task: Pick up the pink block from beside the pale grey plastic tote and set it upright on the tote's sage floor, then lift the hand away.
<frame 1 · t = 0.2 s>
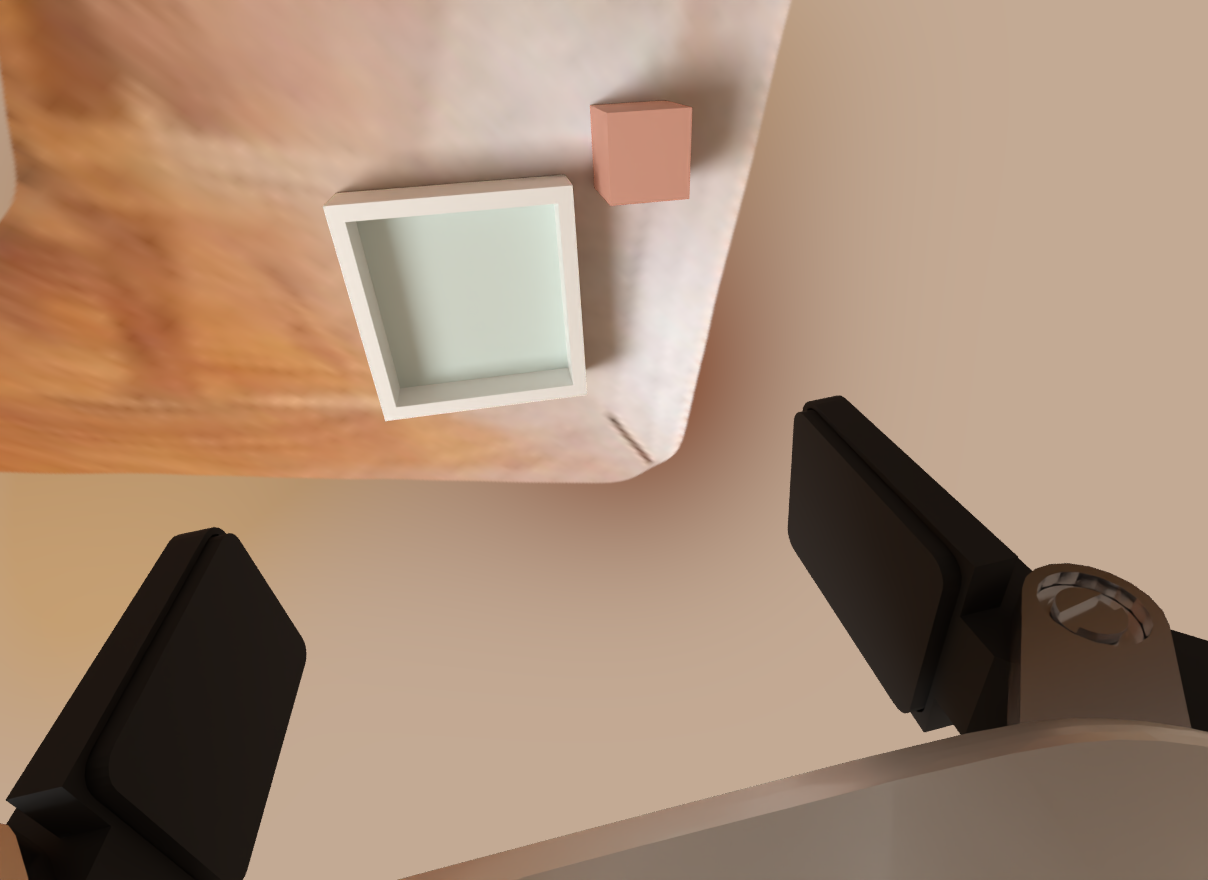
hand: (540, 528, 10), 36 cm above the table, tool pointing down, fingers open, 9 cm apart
tote: (471, 292, 44), on the table
pink block: (628, 145, 40), on the table
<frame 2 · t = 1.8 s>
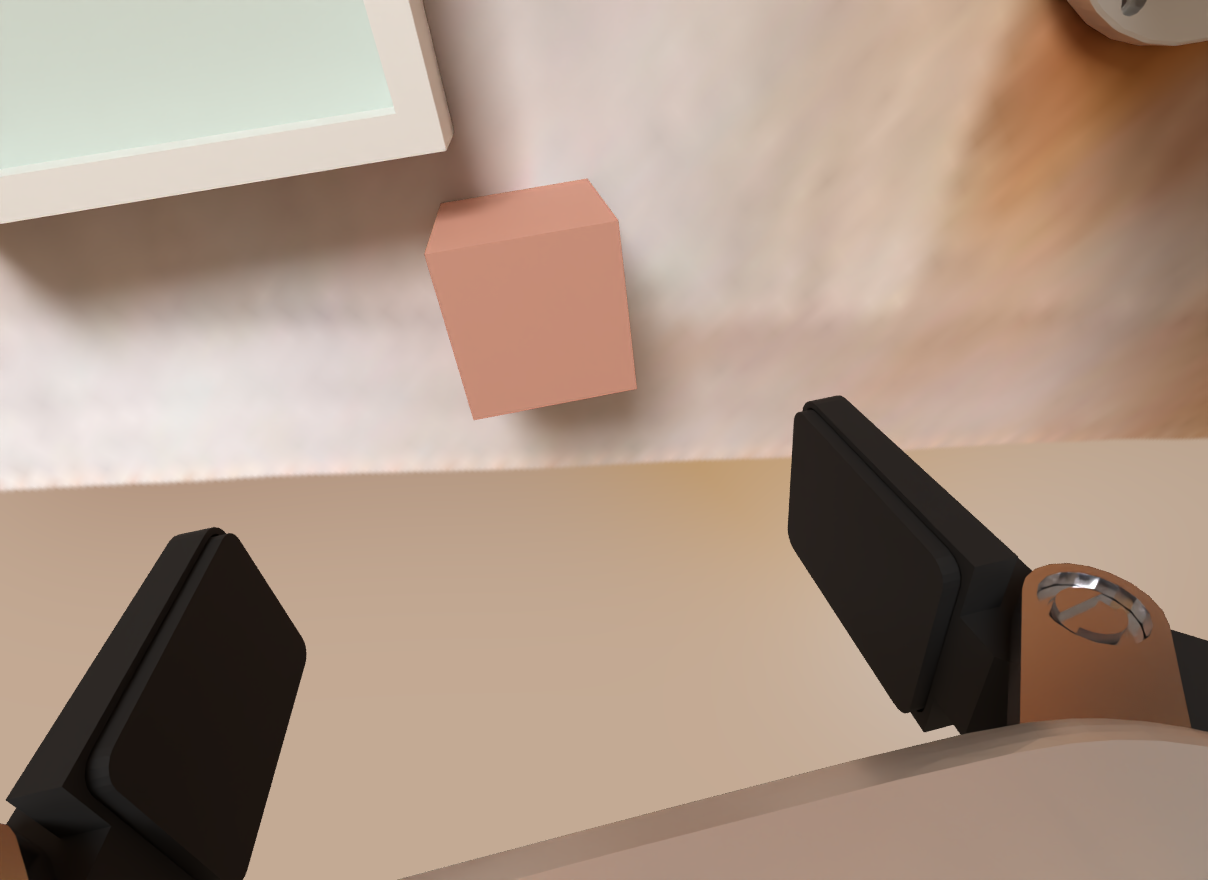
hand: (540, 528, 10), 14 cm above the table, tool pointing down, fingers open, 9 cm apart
pink block: (529, 263, 22), on the table
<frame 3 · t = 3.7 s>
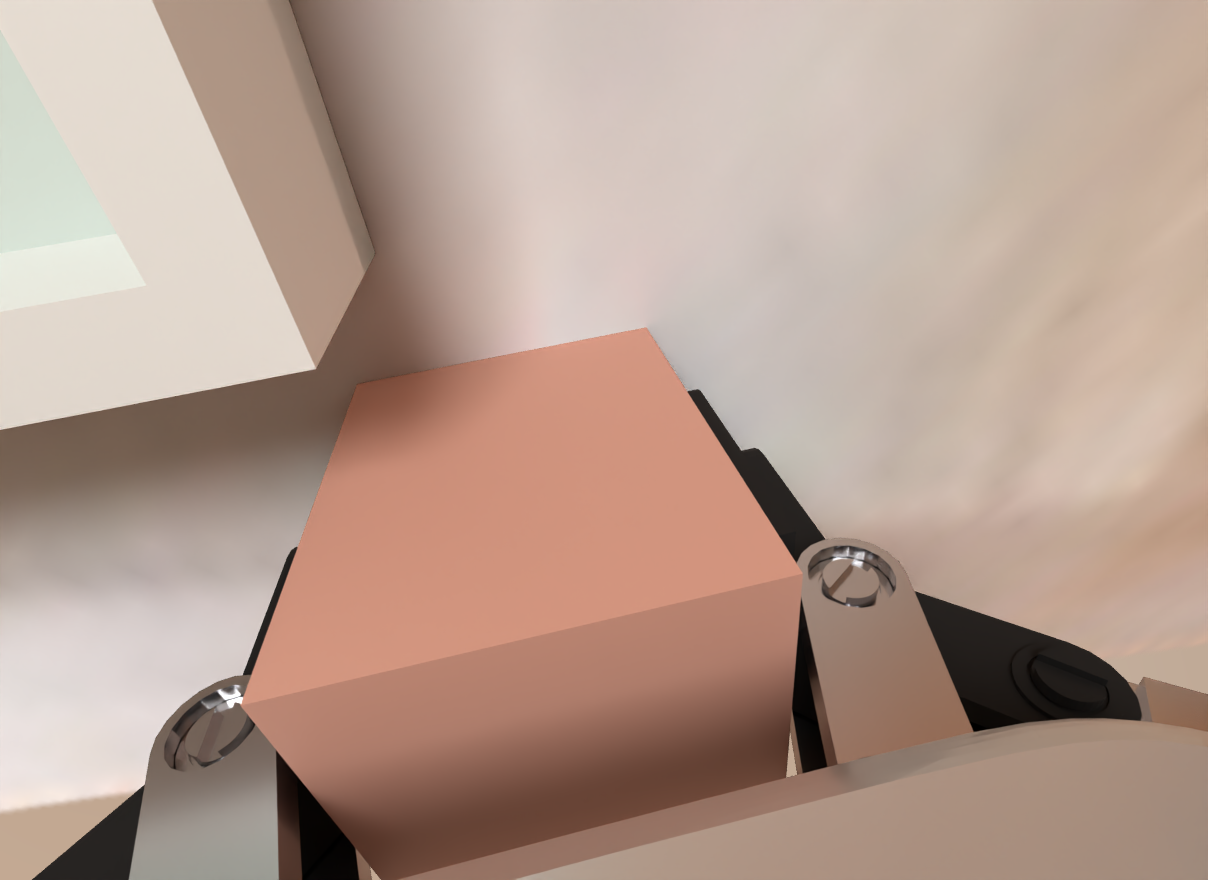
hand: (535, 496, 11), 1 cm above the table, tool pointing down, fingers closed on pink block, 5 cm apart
pink block: (532, 471, 12), on the table, touching gripper
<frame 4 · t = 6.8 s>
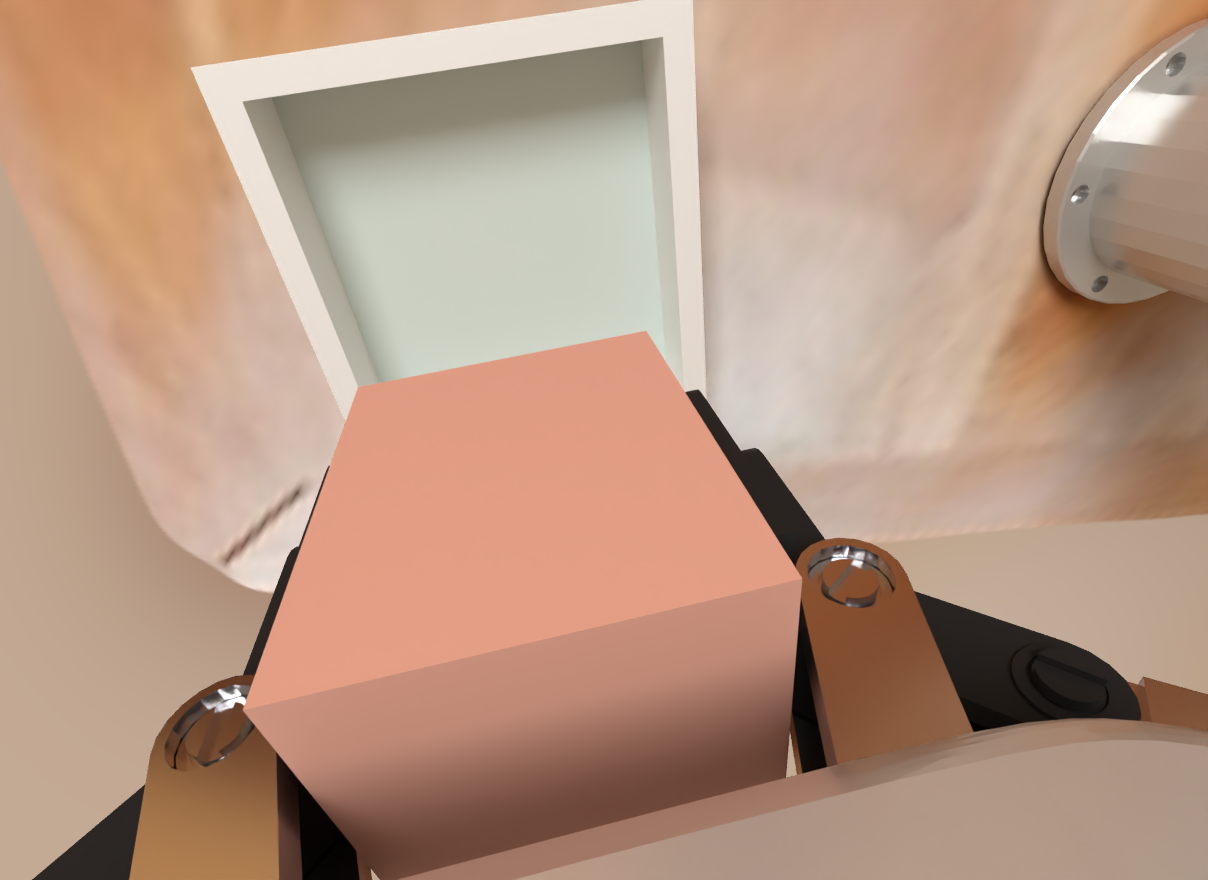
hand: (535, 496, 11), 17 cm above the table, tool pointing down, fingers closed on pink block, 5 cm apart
tote: (500, 246, 25), on the table
pink block: (533, 473, 12), point 17 cm above the table, touching gripper
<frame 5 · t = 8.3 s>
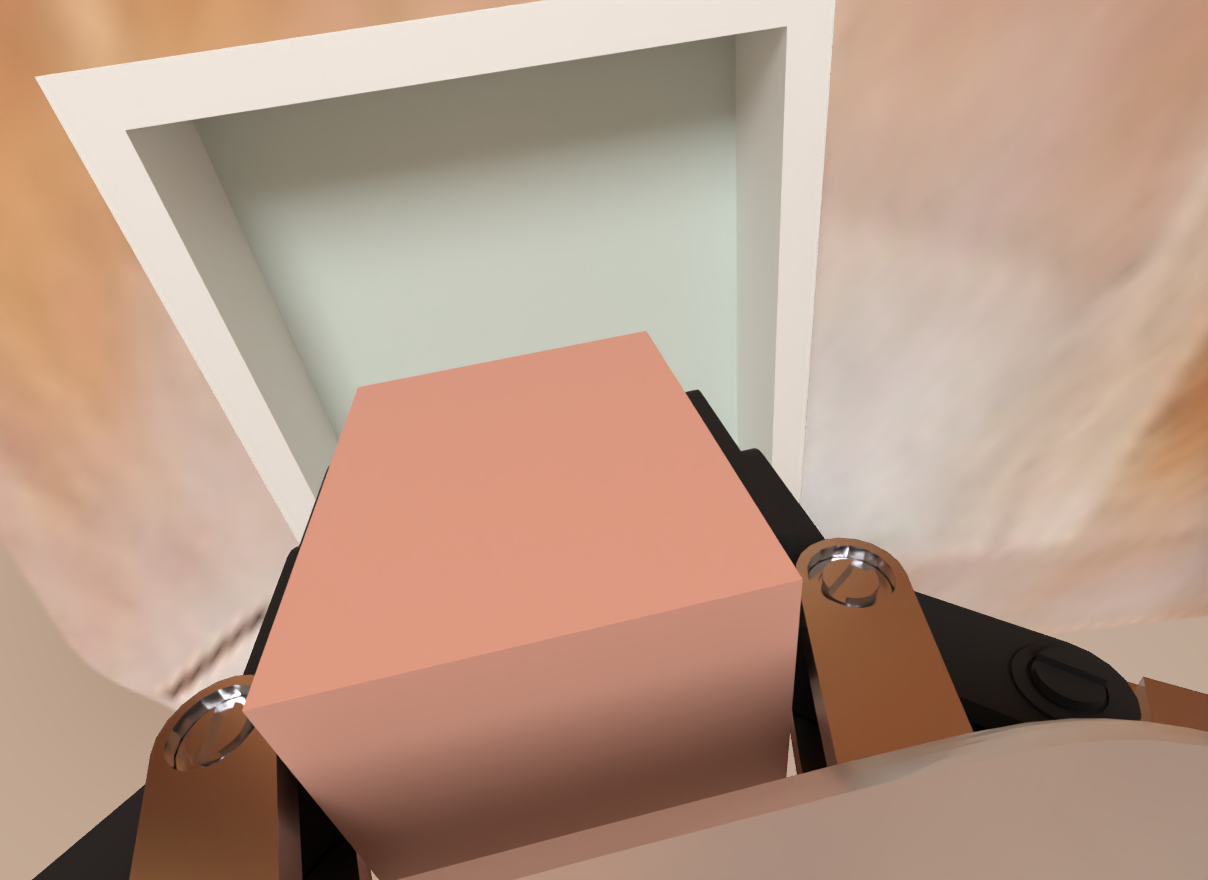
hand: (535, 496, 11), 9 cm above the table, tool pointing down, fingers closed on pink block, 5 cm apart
tote: (524, 315, 19), on the table
pink block: (533, 473, 12), point 8 cm above the table, touching gripper
when the fingers open (3 cm above the table, at t = 9.9 s): pink block drops 1 cm, resting on tote.
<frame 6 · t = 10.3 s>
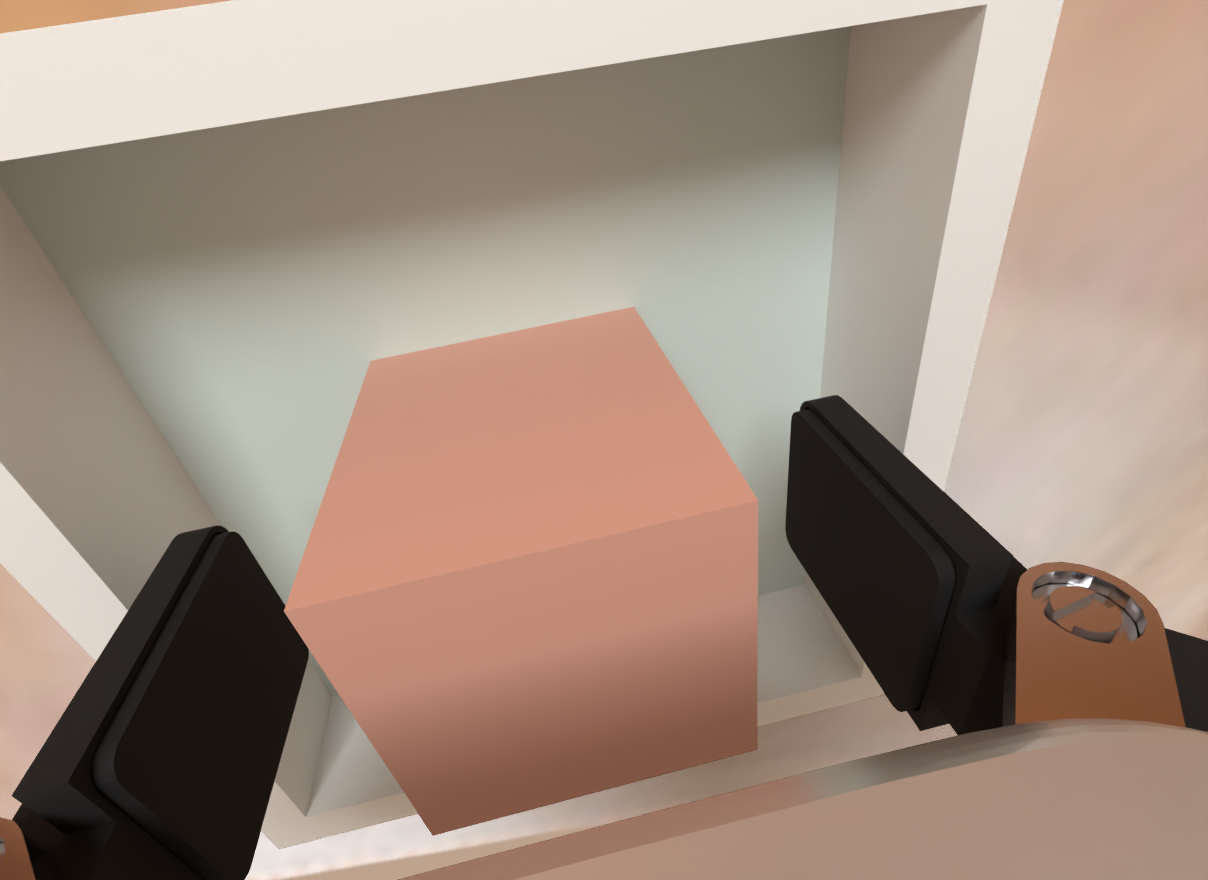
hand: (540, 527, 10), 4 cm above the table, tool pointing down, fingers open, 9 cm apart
tote: (524, 417, 13), on the table
pink block: (532, 442, 13), point 1 cm above the table, touching tote
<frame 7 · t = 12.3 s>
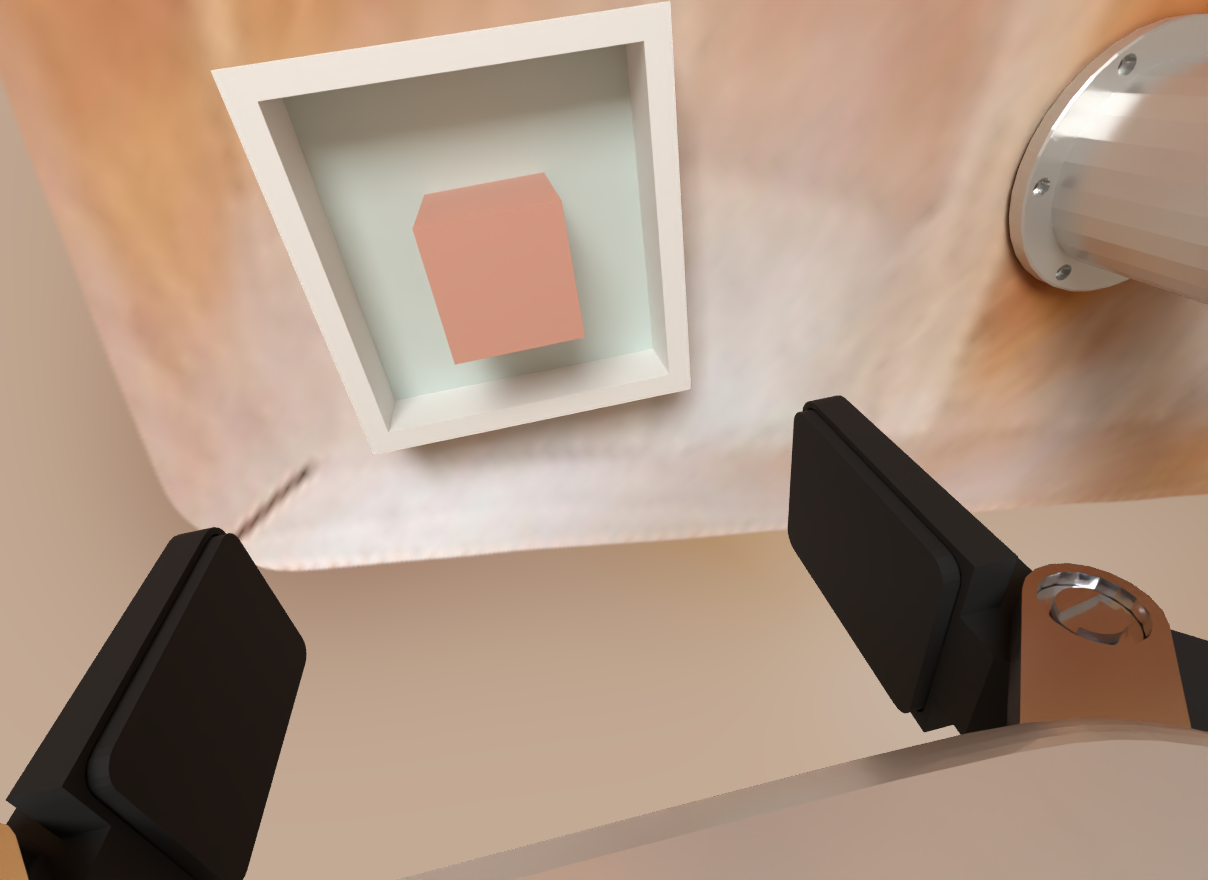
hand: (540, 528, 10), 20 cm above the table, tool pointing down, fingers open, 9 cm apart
tote: (496, 237, 27), on the table
pink block: (498, 243, 26), point 1 cm above the table, touching tote
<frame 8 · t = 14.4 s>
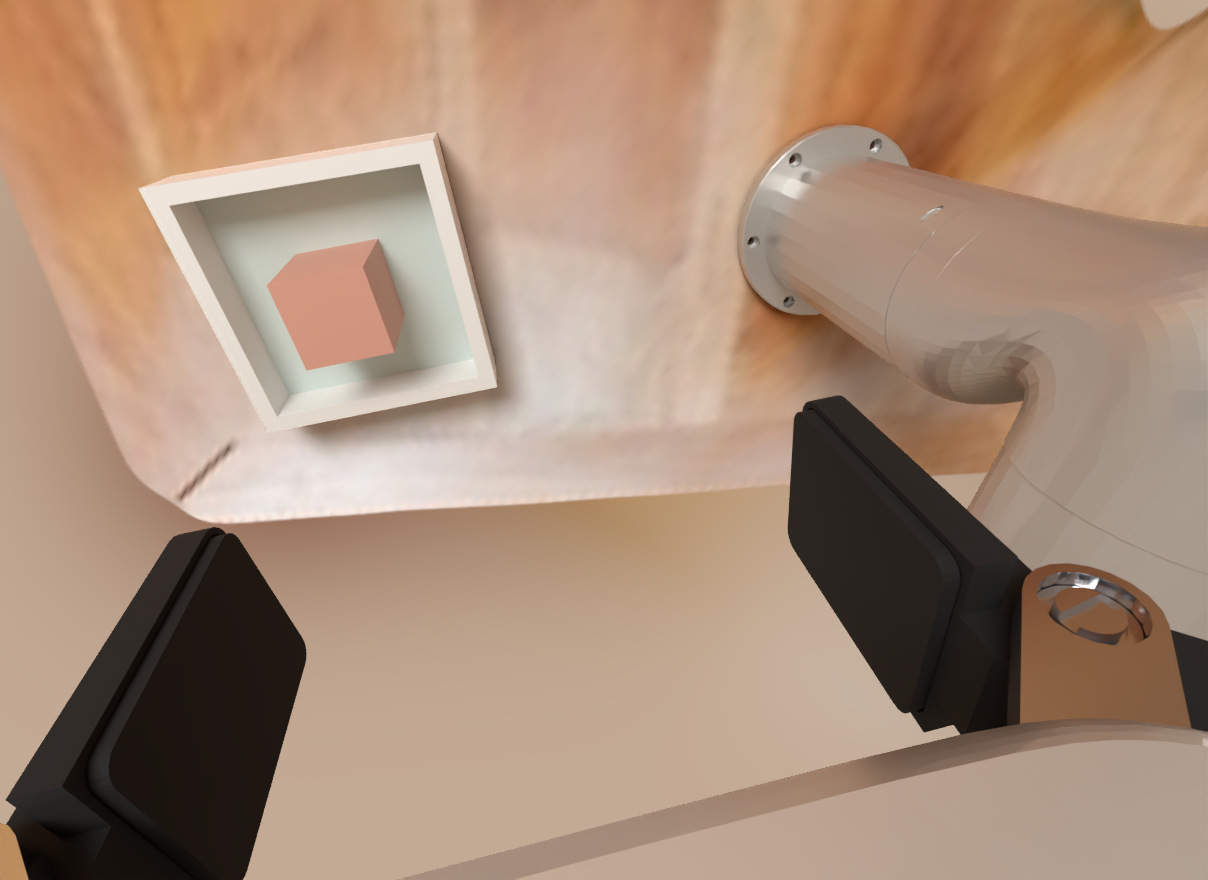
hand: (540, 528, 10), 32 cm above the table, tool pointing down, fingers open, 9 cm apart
tote: (353, 280, 38), on the table
pink block: (352, 286, 38), point 1 cm above the table, touching tote
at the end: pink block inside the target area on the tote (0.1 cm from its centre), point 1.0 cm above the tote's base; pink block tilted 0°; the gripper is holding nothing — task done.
